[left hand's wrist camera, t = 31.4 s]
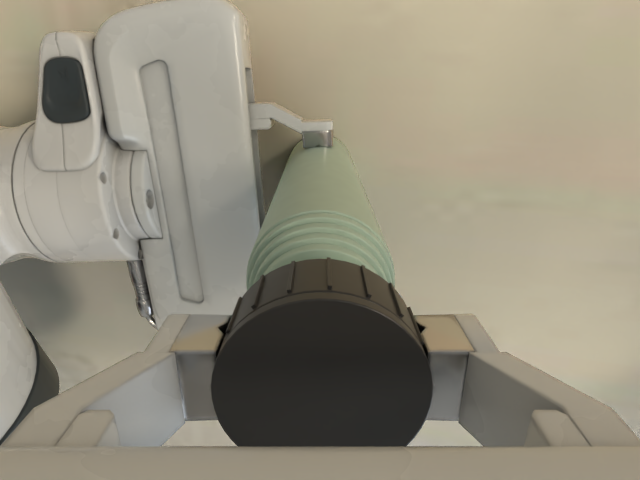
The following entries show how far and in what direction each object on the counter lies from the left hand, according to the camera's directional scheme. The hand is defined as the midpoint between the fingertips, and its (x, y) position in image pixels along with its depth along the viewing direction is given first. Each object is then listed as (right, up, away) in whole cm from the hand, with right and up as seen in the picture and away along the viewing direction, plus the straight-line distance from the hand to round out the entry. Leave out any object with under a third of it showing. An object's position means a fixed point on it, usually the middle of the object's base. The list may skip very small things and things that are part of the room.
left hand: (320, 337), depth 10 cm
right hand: (+1, +6, +15) cm, 16 cm away
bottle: (0, +8, +20) cm, 22 cm away
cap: (0, -1, -2) cm, 2 cm away
